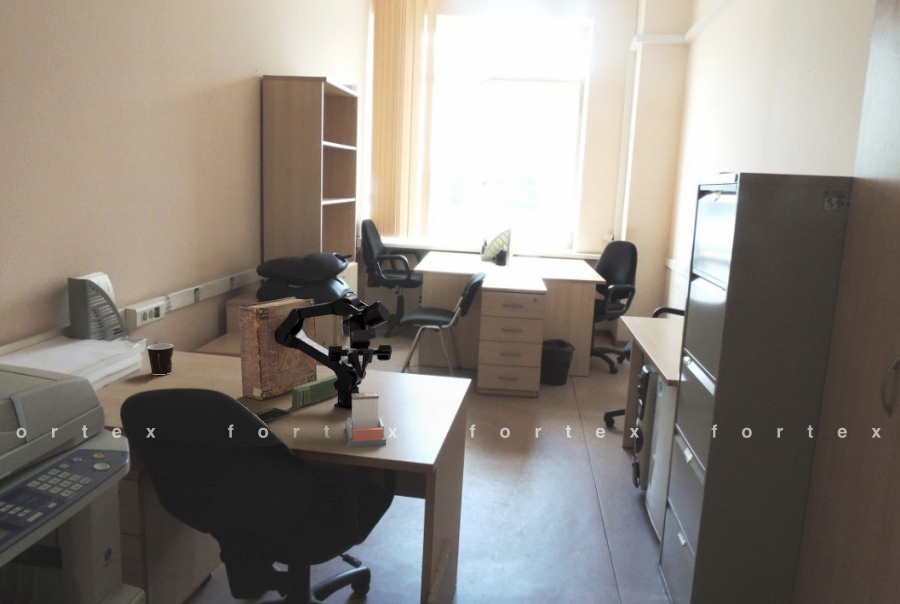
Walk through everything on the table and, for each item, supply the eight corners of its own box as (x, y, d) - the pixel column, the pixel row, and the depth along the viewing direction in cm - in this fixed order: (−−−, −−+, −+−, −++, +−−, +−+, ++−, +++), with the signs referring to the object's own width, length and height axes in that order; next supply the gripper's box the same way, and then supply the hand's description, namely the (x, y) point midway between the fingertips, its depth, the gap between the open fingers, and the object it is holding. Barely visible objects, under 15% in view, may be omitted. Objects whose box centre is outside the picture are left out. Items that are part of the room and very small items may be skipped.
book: (298, 378, 230) (295, 296, 225) (317, 382, 225) (315, 298, 221) (242, 396, 209) (238, 306, 204) (262, 401, 204) (258, 309, 199)
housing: (345, 428, 184) (345, 413, 183) (379, 426, 186) (380, 411, 185) (348, 446, 171) (348, 430, 170) (386, 444, 173) (386, 428, 172)
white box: (351, 427, 180) (351, 393, 178) (377, 426, 181) (377, 392, 180) (352, 431, 177) (352, 397, 175) (378, 430, 178) (378, 396, 176)
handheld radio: (290, 407, 201) (345, 388, 221) (297, 409, 199) (352, 390, 219) (290, 387, 199) (346, 370, 220) (297, 389, 198) (353, 372, 218)
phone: (233, 420, 185) (274, 407, 197) (234, 424, 185) (274, 410, 197) (251, 427, 181) (292, 412, 193) (251, 430, 181) (292, 416, 193)
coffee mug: (157, 369, 236) (156, 343, 234) (179, 370, 235) (178, 344, 233) (138, 378, 225) (136, 350, 223) (161, 379, 223) (159, 352, 222)
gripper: (328, 318, 187) (330, 365, 178) (391, 318, 191) (396, 363, 183) (327, 338, 196) (329, 384, 187) (387, 337, 200) (392, 381, 192)
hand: (361, 377), depth 187 cm, fingers closed
